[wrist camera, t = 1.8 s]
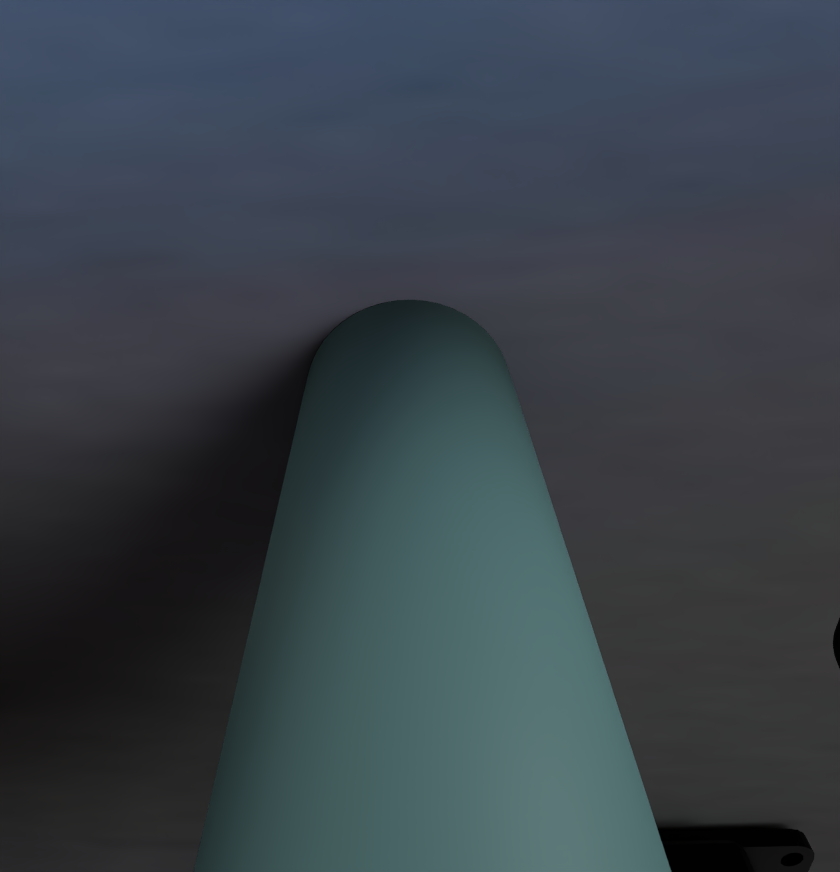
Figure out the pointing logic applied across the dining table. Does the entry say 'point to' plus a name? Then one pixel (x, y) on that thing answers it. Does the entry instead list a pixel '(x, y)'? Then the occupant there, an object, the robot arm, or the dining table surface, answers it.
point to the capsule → (421, 637)
